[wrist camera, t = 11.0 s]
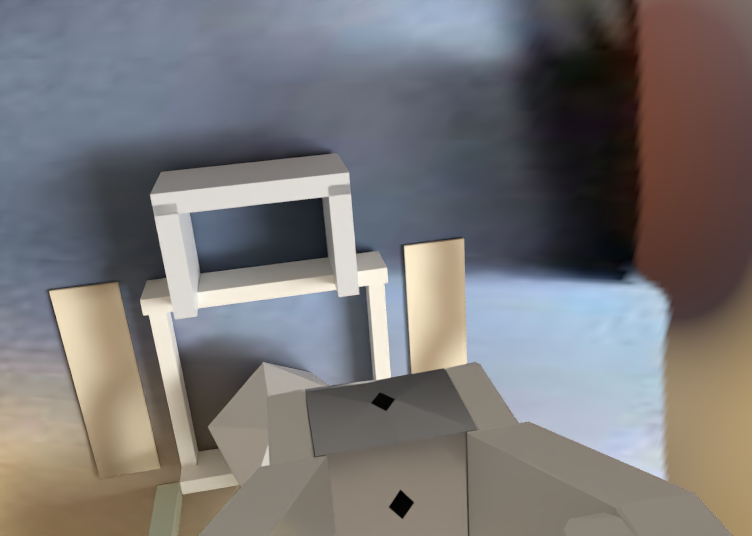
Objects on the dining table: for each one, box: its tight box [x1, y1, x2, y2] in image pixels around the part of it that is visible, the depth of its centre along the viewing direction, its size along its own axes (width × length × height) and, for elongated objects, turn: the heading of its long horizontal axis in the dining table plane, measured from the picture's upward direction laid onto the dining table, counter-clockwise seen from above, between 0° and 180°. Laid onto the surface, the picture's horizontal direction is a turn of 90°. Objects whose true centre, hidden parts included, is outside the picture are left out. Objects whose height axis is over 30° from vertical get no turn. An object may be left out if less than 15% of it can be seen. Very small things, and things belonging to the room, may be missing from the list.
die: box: [208, 362, 330, 487], centre depth 44 cm, size 8×9×10 cm
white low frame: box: [140, 153, 391, 495], centre depth 42 cm, size 14×21×5 cm
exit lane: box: [49, 238, 467, 479], centre depth 46 cm, size 26×14×1 cm, turn 94°
